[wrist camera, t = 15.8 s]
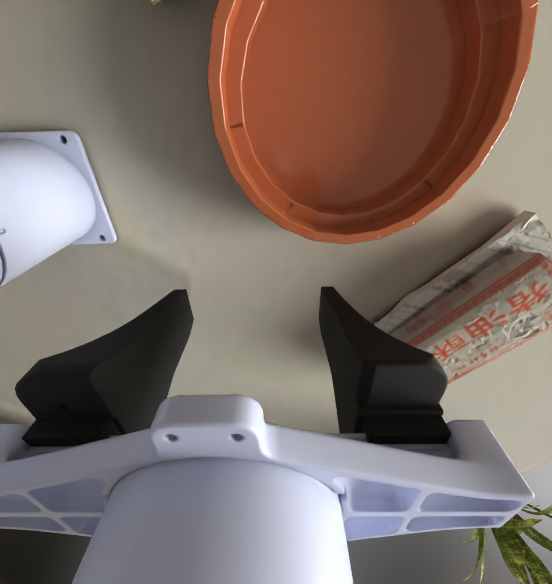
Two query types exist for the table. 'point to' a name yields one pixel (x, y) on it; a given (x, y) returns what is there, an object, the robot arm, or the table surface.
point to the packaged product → (482, 301)
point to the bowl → (362, 104)
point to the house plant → (518, 547)
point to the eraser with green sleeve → (155, 1)
